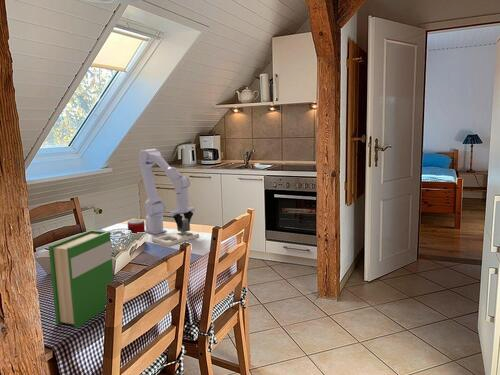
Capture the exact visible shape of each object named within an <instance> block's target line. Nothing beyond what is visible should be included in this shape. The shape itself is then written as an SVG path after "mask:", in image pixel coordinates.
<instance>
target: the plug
mask: <svg viewBox="0 0 500 375" xmlns="http://www.w3.org/2000/svg"><path fill="white" fill-rule="evenodd" d="M190 223H191V221H190V222H188V219H186V218H185V217H182V227H181V229H179V228H178V227H177V231H180V232H186V231H191V224H190Z"/></svg>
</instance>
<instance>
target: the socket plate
mask: <svg viewBox="0 0 500 375" xmlns="http://www.w3.org/2000/svg"><path fill="white" fill-rule="evenodd" d="M199 237H200V233H199V232H194V231H191V230H190V231H186V232H180V231H178V230H177V231H173V232H170V233H167V234H163V235H160V236H156V237H153V238H151V239H152V240H151V241H152V242H153V243H157V244H159V245H163V246H167V247H169V246H172V245H176V244H179V243H183V242H186V241H189V239H190V240H193V239H196V238H199ZM185 240H186V241H185Z"/></svg>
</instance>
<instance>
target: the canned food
mask: <svg viewBox="0 0 500 375" xmlns="http://www.w3.org/2000/svg"><path fill="white" fill-rule="evenodd" d="M128 230H131V231H132V233H137V232H145V230H146V225H145V219H141V218H136V219H130V220H127V231H128ZM145 233H146V232H145Z"/></svg>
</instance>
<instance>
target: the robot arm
mask: <svg viewBox="0 0 500 375" xmlns="http://www.w3.org/2000/svg"><path fill="white" fill-rule="evenodd" d="M137 158H138V161H139V168H140V172H141V176H142V177H141V178H142V182H143V185H144V189H145V192H146V197H147V199H146V200H145V202H144V208H145V209H144V211H145V214H146V216H145V219H144V225H145V233H149V234H153V235H157V234H158V235H159V234H161V233H163V232H164V233H165V232H168V230H167V229H164V220H163V218H164V217H163V215H164V213H165V211H166V205H165V203H164V201H163V199H162V197H160V196H159V195H158V191H157V187H156V182H155V179H154V175H153V170H152V167H153V165H155V164H156V165H158V167H160V169H162V170H163V171H164V172H165V176H166V177H167V178H168V179H169V181H171V183H172V186H173V188H174V189H175V191H174V192H175V193H176V196H175V197H176V209H174V210H172V211H170V212H169V216H170V217H173V219H174V221H175V224H176V226H177V227H178V228H179V229H181V227H182V218H186V219H188V222H190V223H191V220H192V219H193V218H192V217H193V216H194V212H195V211H196V208H195V207H194V206H190V207H189V191H188V190H189V189H188V188H189V186H190V184H191V182H190V179H189V177H187V176H184V175H183V174H181V173H180V172H179V170H177V167H174V166H171V165H169V163H168V162H167V161H166V160H165V159H164V157H163V156H162V153H161V152H160V150H159V149H157V148H152V149H141V150H140V151H139V153H138V155H137ZM182 214H183V215H182Z"/></svg>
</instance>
